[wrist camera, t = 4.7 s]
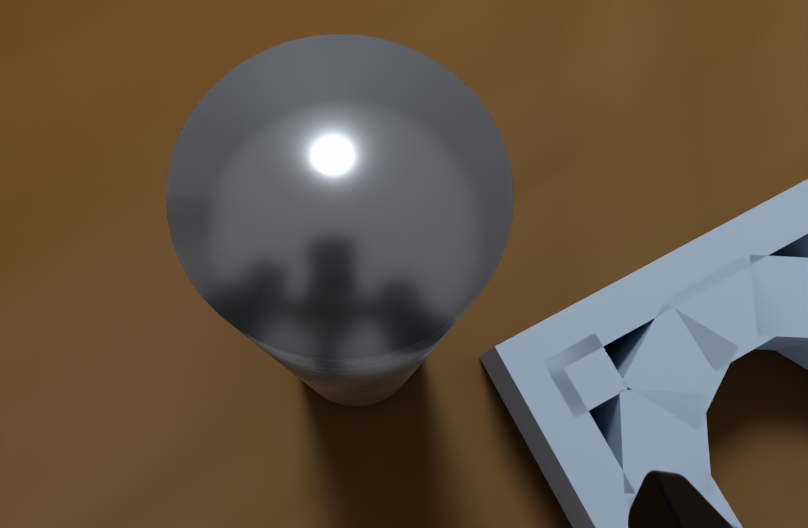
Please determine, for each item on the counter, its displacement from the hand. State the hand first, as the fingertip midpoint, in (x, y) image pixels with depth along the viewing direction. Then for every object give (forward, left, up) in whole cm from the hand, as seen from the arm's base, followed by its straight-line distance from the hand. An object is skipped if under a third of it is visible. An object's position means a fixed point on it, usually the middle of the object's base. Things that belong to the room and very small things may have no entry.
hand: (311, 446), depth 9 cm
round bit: (+2, -1, -10) cm, 10 cm away
